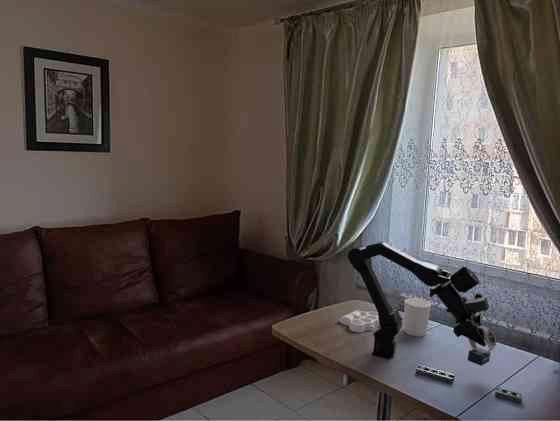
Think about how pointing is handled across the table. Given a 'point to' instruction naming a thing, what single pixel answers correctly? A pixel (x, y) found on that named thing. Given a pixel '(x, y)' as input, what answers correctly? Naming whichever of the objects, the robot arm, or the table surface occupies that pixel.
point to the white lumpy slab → (360, 320)
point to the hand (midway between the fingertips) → (486, 342)
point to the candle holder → (416, 316)
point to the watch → (479, 354)
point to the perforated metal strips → (449, 378)
